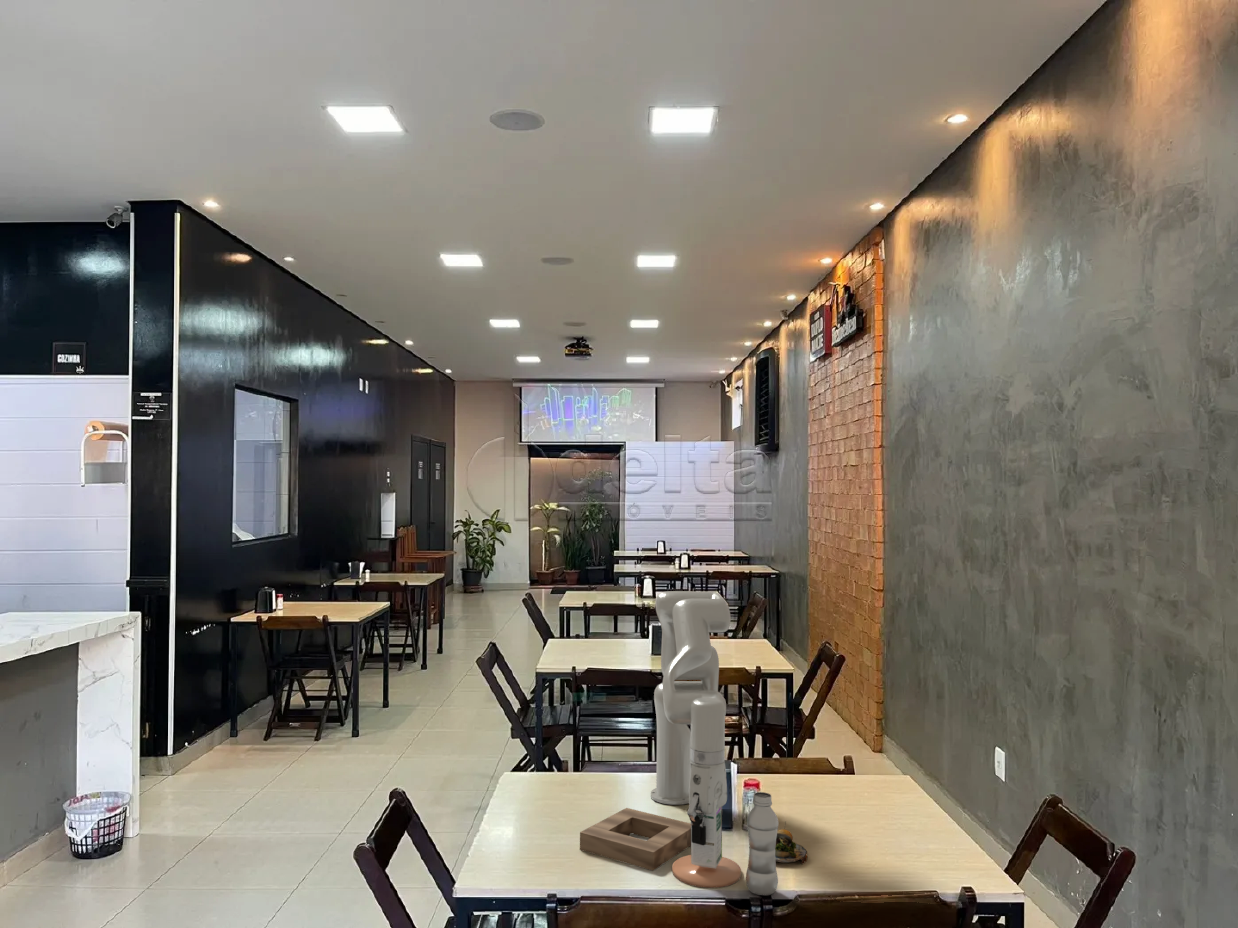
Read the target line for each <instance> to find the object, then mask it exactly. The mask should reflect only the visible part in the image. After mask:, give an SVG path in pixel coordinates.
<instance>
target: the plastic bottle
mask: <svg viewBox="0 0 1238 928" xmlns="http://www.w3.org/2000/svg"><path fill="white" fill-rule="evenodd" d="M752 803H753V807H752V808H751V809H750V811H749V813H748V815H747V818H746V824H747V832H748V833H747V834H748V851H749V852H748V863H747V869H746V873H745V881H746V887H747V888H748V890H749V891H750V892H751V893H752V894H755V895H759V896H770V895H773V894H774V893H775V892H776V891H777V889H778V884H779V878H778V872H777V863H776V862H777V861H776V859H775V848H776V837H777V831H778V830H779V824H780V823H779V819H778V816H777V815H776V812H775V811H774V810H773V808H772V805H773V801H772V794H771V793H768V792H763V791H758V792H757V791H756V792H754V793H753V801H752Z"/></svg>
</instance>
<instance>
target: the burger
mask: <svg viewBox="0 0 1238 928" xmlns="http://www.w3.org/2000/svg"><path fill="white" fill-rule="evenodd" d="M786 822H787V821H785V822H784V826H786ZM793 838H794V836H793V834H792V833H791V831H790V830H787V829H786V827H784V828H782V829H781V828H780V829H778V831H777V837H776V848H775V859H776V862H779V863H795V862H797V861H799V860H801V862H800V864H801V865H804V864H805V862H807V858H808V854H807V853H808V851H807V850H806V848H805V847H804V846H802V845H801V844H798V843H796V842H794V840H793Z"/></svg>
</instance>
